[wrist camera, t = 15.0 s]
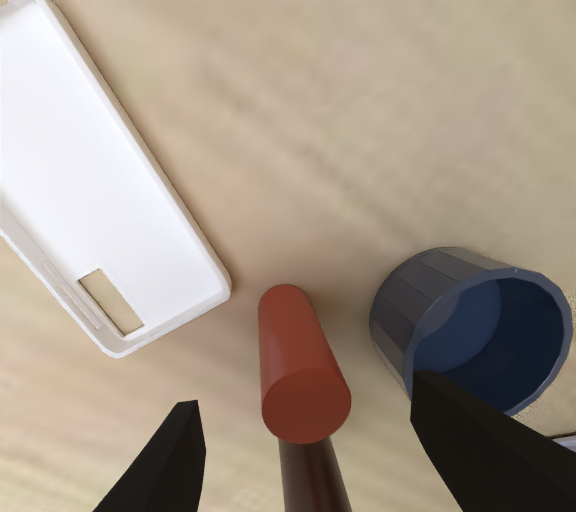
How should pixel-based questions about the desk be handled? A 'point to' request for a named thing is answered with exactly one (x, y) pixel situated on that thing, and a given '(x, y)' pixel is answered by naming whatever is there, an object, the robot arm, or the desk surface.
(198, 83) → the desk surface
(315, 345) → the red peg
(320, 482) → the walnut peg
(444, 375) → the blue cup
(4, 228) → the phone case
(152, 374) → the desk surface
